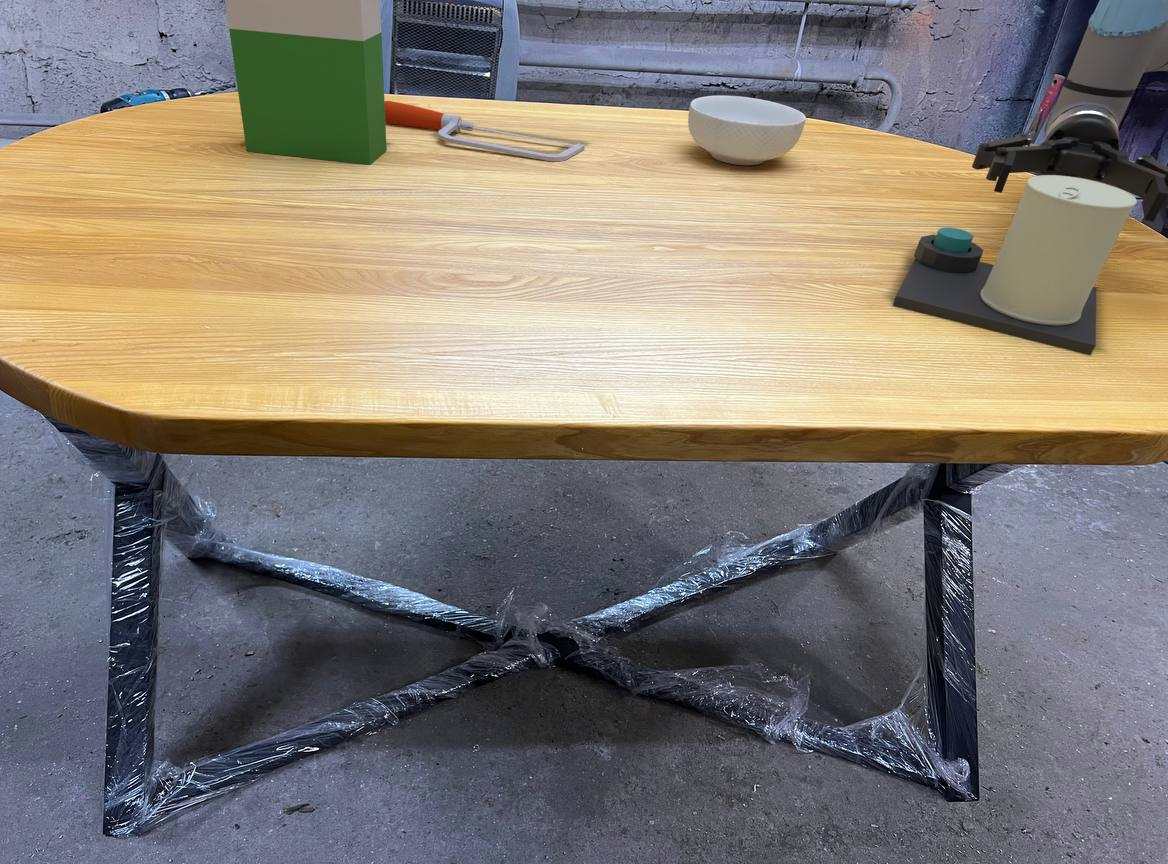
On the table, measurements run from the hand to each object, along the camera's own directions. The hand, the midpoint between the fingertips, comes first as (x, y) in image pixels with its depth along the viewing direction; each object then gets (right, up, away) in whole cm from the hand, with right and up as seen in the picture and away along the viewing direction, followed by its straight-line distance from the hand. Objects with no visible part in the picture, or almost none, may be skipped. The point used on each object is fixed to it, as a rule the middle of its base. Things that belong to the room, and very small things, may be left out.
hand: (1077, 192), depth 81 cm
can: (-4, -11, +2) cm, 12 cm away
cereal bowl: (-22, +20, +43) cm, 53 cm away
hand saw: (-62, +23, +43) cm, 79 cm away
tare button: (-8, -3, +9) cm, 13 cm away
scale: (-5, -10, +5) cm, 12 cm away
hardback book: (-84, +18, +34) cm, 92 cm away
